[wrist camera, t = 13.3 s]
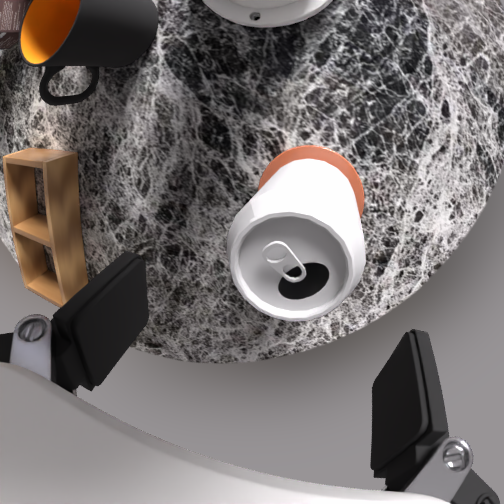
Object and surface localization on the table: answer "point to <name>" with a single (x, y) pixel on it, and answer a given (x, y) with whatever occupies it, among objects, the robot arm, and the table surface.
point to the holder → (46, 222)
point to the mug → (84, 37)
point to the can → (298, 243)
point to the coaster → (321, 155)
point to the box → (11, 21)
